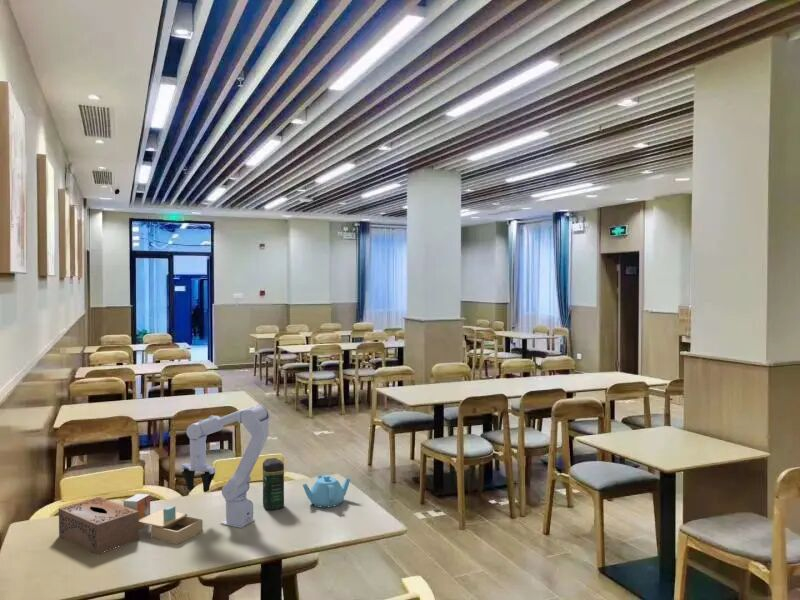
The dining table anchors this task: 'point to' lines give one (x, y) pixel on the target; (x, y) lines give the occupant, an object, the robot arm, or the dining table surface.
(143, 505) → the small box
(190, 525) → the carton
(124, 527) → the tissue box cover
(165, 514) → the tan flat square block
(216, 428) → the robot arm
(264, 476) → the coffee jar
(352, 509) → the dining table surface
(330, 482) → the teapot
